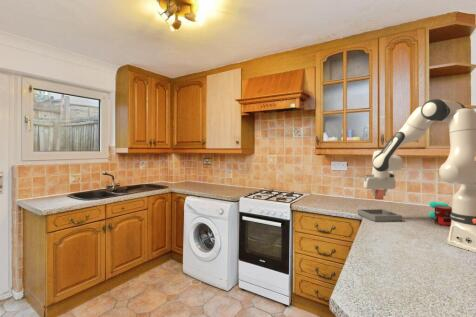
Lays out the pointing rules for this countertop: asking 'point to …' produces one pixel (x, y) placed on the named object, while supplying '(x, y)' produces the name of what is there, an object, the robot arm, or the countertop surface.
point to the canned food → (443, 215)
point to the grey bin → (379, 215)
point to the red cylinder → (379, 194)
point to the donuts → (434, 207)
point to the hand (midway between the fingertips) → (379, 195)
